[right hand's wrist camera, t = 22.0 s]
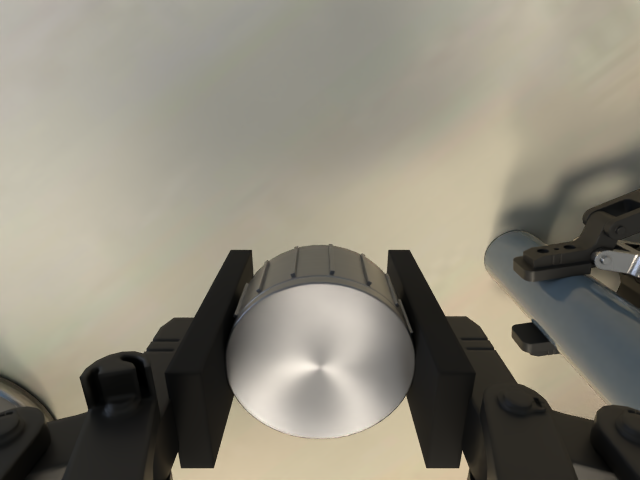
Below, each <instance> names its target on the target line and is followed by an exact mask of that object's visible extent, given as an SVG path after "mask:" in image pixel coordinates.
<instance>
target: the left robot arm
mask: <svg viewBox="0 0 640 480" xmlns="http://www.w3.org/2000/svg"><path fill="white" fill-rule="evenodd" d="M582 220H583V223H584V224H585V227H584V230H583V232H582V234H581V235H580V236H579V237H576V238H575V239H574V240H573V241H572V242H566V243H559V244H552V245H548V246H547V245H545V246H538V247H531V248H529V249H527V250H525V251H523V256H518V257H515V258H514V259H513V270H514V271H515V272H516V273H517V274H518V275H519V276H520V277H521V278H522V279H524V280H526V281H529V282H536V281H544V280H551V279H558V278H565V277H571V276H579V275H587V274H590V273H591V268H593V267H597V268H598V269H602V270H608V271H615V272H619V273H620V279H621V284H620V286H619V288H618V291H617V294H619V295H620V296H622V297H623V298H625V299H626V300H627V301H629V302H630V303H632V304H633V305H635V306H636V307H638V308H639V309H640V243H637V242H631V241H624V240H621V239H623V238H626V237H629V236H631V235H634V234H636V233H639V232H640V189H638V190H636V191H633V192H631V193H628V194H626V195H623V196H621V197H618V198H616V199H613V200H611V201H608V202H606V203H603V204H601V205H598V206H596V207H593V208H591V209H589V210H587V211H586V212H585V213H584V215H583V218H582ZM512 338H513V339H514V341H515V342H516V343H517V344H518V346H519V347H520V348H521V349H522V350H523V351H525V352H528V353H530V355H534V356H544V355H552V354H560V352H559V351H558V350H557V349H556V348H555V347H554V346H553V344H552V343H551V342H550V341H549V340H548V339H547V338H546V337H545V336H544V334H543V333H542V332H541V331H540V330H539V329H538V328H537V327H536V326H535V325H534V323H533V322H531V323H524V324H517V325H514V326H512Z"/></svg>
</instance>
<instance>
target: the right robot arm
mask: <svg viewBox="0 0 640 480" xmlns="http://www.w3.org/2000/svg"><path fill="white" fill-rule="evenodd" d="M387 274H388V275H389V277H390V280H391V283H392V285H393V287H394V290H395V292H396V295H397V297H398V300H399V299H401V302H402V304H403V307H404V310H405V312H406V315H407V318H408V320H409V323H410V326H411V328H412V331H413V336H412V339H413V342H414V346H415V351H416V361H415V371H414V378H413V382H412V384H411V386H410V389H409V391H408V393H407V394H406V396H407V400H408V403H409V407H410V411H411V414H412V418H413V421H414V425H415V429H416V432H417V436H418V439H419V443H420V447H421V450H422V454H423V457H424V461H425V465H426V468H459V466H460V460H461V455H462V450H463V453H464V455H465V458H466V461H467V463H468V466H469V473H468V478H467V480H640V411H639V410H636V409H633V408H630V407H627V406H620V405H608V406H603V407H602V408H601V409H599V410H598V411H597V413H596V416H595V419H594V421H593V420H589V419H585V418H581V417H576V416H572V415H568V414H564V413H560V412H557V411H554V410H552V409H551V407H550V406H549V404H548V403H547V401H546V400H545V399H544V398H543V397H542V396H541V395H539V394H538V393H537V392H536V391H534V390H532V389H530V388H528V387H526V386H524V385H521V384H518V383H517V382H516V380H515V379H514V377H513V376H512V374H511V373H510V371H509V370H508V368H507V367H506V365H505V364H504V362H503V361H502V359H501V358H500V356H499V355H498V353H497V352H496V350H494V347H493V346H492V344H491V343H490V341H489V340H488V338H487V336H486V335H485V333H484V332H483V330H482V329H481V327H480V326H479V325H477V324H476V323H474V322H473V321H472V320H470V319H469V318H468V317H466V316H445V315H444V313H443V311H442V309H441V307H440V306H439V304H438V302H437V300H436V298H435V296H434V294H433V293H432V291H431V289H430V287H429V285H428V283H427V281H426V280H425V278H424V276H423V274H422V272H421V270H420V269H419V267H418V265H417V263H416V261H415V259H414V257H413V256H412V254H411V252H410V250H388V264H387ZM253 277H254V276H253V261H252V250H231V251H230V252H229V254H228V256H227V258H226V260H225V262H224V263H223V265H222V267H221V269H220V271H219V273H218V275H217V276H216V278H215V280H214V282H213V284H212V286H211V288H210V289H209V291H208V293H207V295H206V297H205V299H204V300H203V302H202V304H201V306H200V308H199V310H198V312H197V313H196V315H195V317H194V318H173V319H172V320H170V321H169V322H168V323H166V324H165V325H164V326H162V327H161V328H160V329H159V331H158V332H157V334H156V335H155V337H154V339H153V342H151V343H150V345H149V346H148V348H147V351H146V352H144V354H143V353H139V352H135V351H131V352H119V353H115V354H111V355H108V356H106V357H104V358H102V359H99V360H97V361H96V362H94V363H93V364H91V365H90V366H89V367H87V368H86V369H85V371H84V372H83V373H82V375H81V376H80V381H81V384H82V388H83V392H84V395H85V399H86V402H87V406H88V412H85V413H82V414H79V415H75V416H71V417H67V418H62V419H58V420H54V419H53V418H52V416H51V415H50V413H49V412H48V411H47V410H46V408H45V407H44V406H43V405H42V404H41V403H40V402H39V401H38V400H37V399H36V398H35V397H33V396H32V395H31V394H30V393H28V392H27V391H25V390H24V389H22V388H21V387H19V386H18V385H16V384H14V383H12V382H10V381H8V380H6V379H4V378H2V377H0V480H173V479H172V473H171V468H172V466H173V463H174V461H175V458H176V455H177V453H179V459H180V465H181V468H214V466H215V462H216V458H217V455H218V451H219V447H220V444H221V440H222V437H223V433H224V429H225V426H226V422H227V419H228V415H229V411H230V408H231V404H232V401H233V397H234V394H233V392H232V390H231V388H230V385H229V383H228V380H227V376H226V368H225V348H226V344H227V340H228V337H229V335H230V332H231V329H232V326H233V324H234V321H235V318H234V317H233V316H234V314H235V311H236V308H237V305H238V303H239V300H240V297H241V295H242V292H243V289H244V287H245V284H246V283H248V284H249V283H250V281H251V279H252V278H253Z"/></svg>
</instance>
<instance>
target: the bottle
mask: <svg viewBox="0 0 640 480" xmlns="http://www.w3.org/2000/svg"><path fill="white" fill-rule="evenodd" d="M545 245H547V244H545V243H544V242H542V241H541V240H540V239H538V238H537V237H535V236H534V235H532V234H531V233H528V232H525V231H511V232H507V233H505V234H503V235H501V236H499V237H498V238H496V239H495V240H494V241H493V242H492V243H491V245H490V246H489V247H488V249H487V251H486V254H485V268H486V270H487V272H488V274H489V275H490V276H491V277H492V278H493V279H494V280H495V281H496V283H497V284H498V285H499V286H500V287H501V288H502V289H503V290H504V291H505V293H506V294H507V295H508V296H509V297H510V298H511V299H512V300H513V301H514V302H515V304H516V305H517V306H518V307H519V308H520V309H521V310H522V311H523V312H524V314H525V315H526V316H527V317H528V318H529V319H530V320H531V321H532V322H533V323H534V325H535V326H536V327H537V328H538V329H539V330H540V331H541V332H542V333H543V334H544V336H545V337H546V338H547V339H548V340H549V341H550V342H551V343H552V344H553V346H554V347H555V348H556V349H557V350H558V351H559V352H560V353H561V354H562V355H563V357H564V358H565V359H566V360H567V361H568V362H569V363H570V364H571V365H572V367H573V368H574V369H575V370H576V371H577V372H578V373H579V374H580V375H581V376H582V378H583V379H584V380H585V381H586V382H587V383H588V384H589V385H590V386H591V388H592V389H593V390H594V391H595V392H596V393H597V394H598V395H599V396H600V397H601V399H602V400H603V401H604V402H605V403H606V404H607V405H620V406H627V407H630V408H633V409H636V410H639V411H640V309H639V308H638V307H636V306H635V305H633V304H632V303H630V302H629V301H627V300H626V299H625V298H623V297H622V296H620V295H619V294H617V293H616V292H614V291H613V290H612V289H610V288H609V287H607V286H606V285H604V284H603V283H602V282H600V281H599V280H597V279H596V278H594V277H593V276H591V275H590V274H587V275H579V276H571V277H565V278H558V279H551V280H544V281H536V282H529V281H526V280H524V279H522V278H521V277H520V276H519V275H518V274H517V273H516V272H515V271H514V270H513V259H514V258H515V257H518V256H523V251H525V250H527V249H529V248H531V247H538V246H545ZM547 246H548V245H547Z"/></svg>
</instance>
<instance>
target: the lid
mask: <svg viewBox="0 0 640 480" xmlns="http://www.w3.org/2000/svg"><path fill="white" fill-rule="evenodd" d="M233 317H234V318H235V321H234V324H233V326H232V329H231V332H230V335H229V337H228V340H227V344H226V348H225V368H226V376H227V380H228V383H229V385H230V388H231V390H232V392H233V394H234V395H235V397H236V398H237V400H238V402H239V403H240V404H241V405H242V406H243V407H244V409H245V410H246V411H248V412H249V413H250V414H251V415H252V416H253V417H254V418H256V419H257V420H259V421H260V422H261V423H263V424H265V425H267V426H269V427H270V428H272V429H275V430H277V431H280V432H282V433H285V434H289V435H292V436H297V437H302V438H311V439H330V438H339V437H344V436H348V435H352V434H355V433H358V432H361V431H363V430H366V429H368V428H370V427H372V426H374V425H375V424H377V423H379V422H381V421H382V420H383V419H385V418H386V417H387V416H389V415H390V414H391V413H392V412H393V411H394V410H395V409H396V408H397V407H398V406H399V404H400V403H401V402H402V401H403V399H404V398H405V396H406V394H407V393H408V391H409V389H410V386H411V384H412V382H413V378H414V371H415V361H416V351H415V346H414V342H413V339H412V336H413V331H412V328H411V326H410V323H409V320H408V318H407V315H406V312H405V310H404V307H403V304H402V302H401V299H399V300H398V297H397V295H396V292H395V290H394V287H393V285H392V283H391V280H390V277H389V275H388V274H387V273H386V274H384V272H383V271H382V270H381V269H380V268H379V267H378V266H377V265H376V264H375V263H373V262H372V261H370V260H369V259H367V258H366V257H365V255H364V254H361V255H360V254H358V253H356V252H354V251H351V250H348V249H345V248H341V247H337V246H333V245H332V244H329V245H311V246H304V247H299V248H298V246H297V247H295V248H294V249H292V250H289V251H287V252H284V253H282V254H280V255H278V256H276V257H275V258H273V259H271V260H270V261H268V260H267V261H266V262H265V263H264V266H263V267H262V268H261V269H259V270H258V271H257V273H256V274H255V275H254V277H253V278H252V279H251V281H250V283H249V284H248V283H246V284H245V287H244V289H243V292H242V295H241V297H240V300H239V303H238V305H237V308H236V311H235V314H234V316H233Z"/></svg>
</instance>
